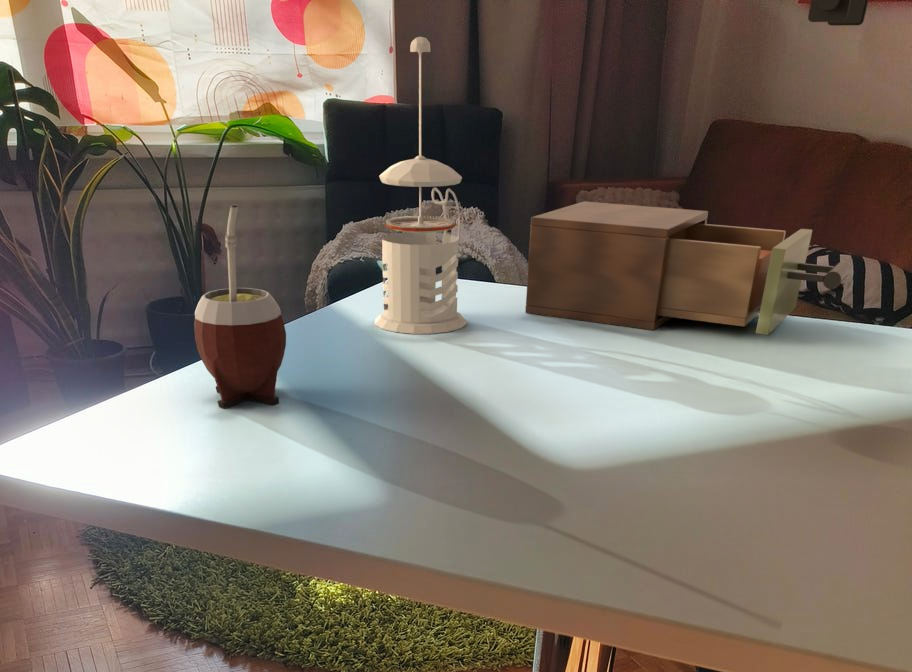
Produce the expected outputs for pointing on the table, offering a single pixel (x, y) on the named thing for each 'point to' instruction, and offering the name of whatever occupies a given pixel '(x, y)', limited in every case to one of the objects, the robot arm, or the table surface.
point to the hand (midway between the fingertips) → (836, 23)
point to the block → (760, 278)
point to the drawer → (737, 274)
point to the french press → (420, 249)
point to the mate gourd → (240, 336)
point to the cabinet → (602, 262)
